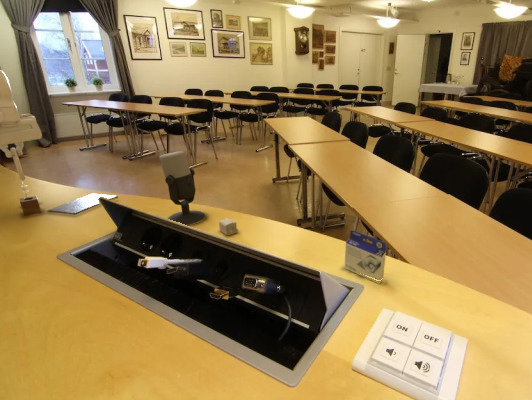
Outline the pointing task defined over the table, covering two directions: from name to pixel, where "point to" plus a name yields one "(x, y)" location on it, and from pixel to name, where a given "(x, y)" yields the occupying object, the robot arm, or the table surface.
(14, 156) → the stylus
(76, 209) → the tablet
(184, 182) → the microphone
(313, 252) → the table surface
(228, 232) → the usb wall charger
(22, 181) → the chess piece
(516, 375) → the table surface
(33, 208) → the holder
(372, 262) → the ink box
